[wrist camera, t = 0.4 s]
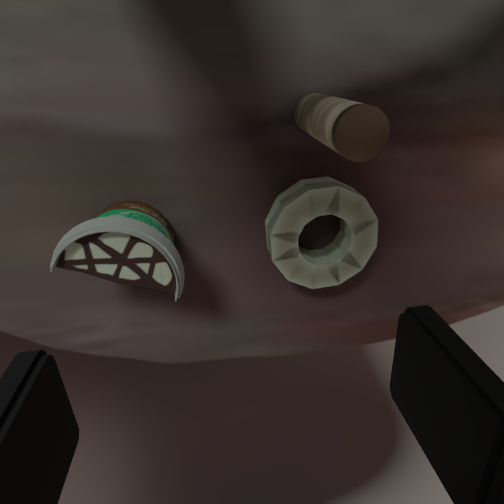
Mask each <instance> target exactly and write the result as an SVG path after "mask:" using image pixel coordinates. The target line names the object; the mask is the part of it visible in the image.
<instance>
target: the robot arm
mask: <svg viewBox="0 0 504 504" xmlns="http://www.w3.org/2000/svg"><path fill="white" fill-rule="evenodd" d="M390 392H391V395H392V398H393V400H394V402H395V403H396V405H397V407H398V408H399V410H400V412H401V414H402V415H403V417H404V419H405V421H406V422H407V424H408V426H409V427H410V429H411V431H412V433H413V434H414V436H415V437H416V439H417V441H418V443H419V444H420V446H421V448H422V450H423V451H424V453H425V455H426V457H427V458H428V460H429V462H430V464H431V465H432V467H433V469H434V470H435V472H436V474H437V475H438V477H439V479H440V481H441V482H442V484H443V486H444V488H445V489H446V491H447V492H448V494H449V496H450V498H451V500H452V501H453V503H454V504H504V382H503V381H502V380H501V379H500V378H499V377H498V376H497V375H496V374H495V373H494V372H493V371H492V370H491V369H490V368H489V367H488V366H487V365H486V364H485V362H483V360H482V359H481V358H480V357H479V356H478V355H477V354H476V353H475V352H474V351H473V350H472V349H471V348H470V347H469V346H468V345H467V344H466V343H465V342H464V341H463V340H462V339H461V338H460V337H459V336H458V335H457V334H456V333H455V331H454V330H453V329H451V327H450V326H449V325H448V324H447V323H446V322H445V321H444V320H443V319H442V318H441V317H440V316H439V315H438V314H437V313H436V312H435V311H434V310H433V309H432V308H431V307H430V306H427V305H425V306H416V307H408V308H406V309H405V312H404V313H402V314H400V316H399V320H398V328H397V335H396V343H395V350H394V359H393V365H392V373H391V381H390ZM78 440H79V428H78V424H77V421H76V419H75V416H74V413H73V410H72V407H71V404H70V401H69V399H68V396H67V393H66V390H65V387H64V385H63V382H62V379H61V376H60V373H59V370H58V367H57V365H56V362H55V359H54V357H53V356H52V355H47V353H46V352H45V351H44V350H37V351H28V352H20V353H18V354H17V355H16V356H15V357H14V359H13V360H12V362H11V363H10V365H9V366H8V368H7V369H6V371H5V373H4V374H3V376H2V377H1V379H0V504H58V501H59V498H60V495H61V491H62V489H63V486H64V483H65V480H66V477H67V473H68V471H69V468H70V465H71V461H72V458H73V456H74V452H75V449H76V446H77V443H78Z"/></svg>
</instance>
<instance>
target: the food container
mask: <svg viewBox="0 0 504 504" xmlns="http://www.w3.org/2000/svg"><path fill="white" fill-rule="evenodd" d="M56 267H60V268H63V269H69V270H74V271H78V272H82V273H86V274H90V275H93V276H96V277H99V278H102V279H105V280H109V281H112V282H115V283H120V284H125V285H132V286H138V287H144V288H149V289H153V290H157V291H161V292H165V293H170V294H174V295H175V301H176V300H177V298H180V296H181V294H182V292H183V287H184V279H185V274H184V266H183V263H182V260H181V257H180V255H179V253H178V251H177V249H176V248H175V244H174V234H173V230H172V228H171V226H170V224H169V222H168V220H167V219H166V218H165V217H164V216H163V215H162V214H161V213H160V212H159V211H158V210H157V209H155V208H153V207H152V206H150V205H147V204H145V203H141V202H137V201H123V202H118V203H115V204H113V205H110V206H108V207H107V208H105V209H104V210H103V211H102V212H101V213H99V214H98V215H97V216H96V217H95V218H94V219H91V220H88V221H86V222H83V223H81V224H79V225H77V226H76V227H74V228H72V229H71V230H70V231H69V232H68V233H67V234H65V235H64V236H63V238H62V239H61V240H60V242H59V243H58V245H57V247H56V249H55V251H54V253H53V257H52V260H51V264H50V268H51V271H50V272H52V271H53V270H54V269H55V268H56Z"/></svg>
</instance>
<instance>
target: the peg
mask: <svg viewBox="0 0 504 504" xmlns="http://www.w3.org/2000/svg"><path fill="white" fill-rule="evenodd" d="M294 120H295V123H296V124H297V126H298V127H299V128H300V129H301V130H303V131H304V132H306V133H307V134H309V135H311V136H312V137H314V138H315V139H317V140H318V141H320V142H321V143H323V144H325V145H326V146H328V147H329V148H331V149H332V150H334V151H335V152H337V153H338V154H340V155H342V156H343V157H345V158H346V159H348V160H350V161H353V162H365V161H368V160H370V159H372V158H374V157H376V156H377V155H378V154H379V153H380V152H381V151H382V150H383V148H384V147H385V145H386V143H387V141H388V138H389V132H390V126H389V121H388V119H387V116H386V115H385V113H384V112H383V111H382V110H381V109H379V108H377V107H375V106H372V105H368V104H364V103H359V102H355V101H351V100H347V99H343V98H339V97H335V96H330V95H326V94H322V93H318V92H309V93H307V94H305V95H303V96H302V97H301V98H300V99H299V100H298V101H297V103H296V105H295V108H294Z"/></svg>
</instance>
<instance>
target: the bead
mask: <svg viewBox="0 0 504 504" xmlns="http://www.w3.org/2000/svg"><path fill="white" fill-rule="evenodd" d="M331 214H332V215H335V216H337V217H340V230H339V232H338V234H337V235H336V237H335V239H334V241H333V242H331V243H330V244H328V245H327V246H325V247H324V248H322V249H316V250H307V249H304V248H302V247H299V246H298V237H299V235H300V233H301V231H302V229H303V227H304V226H305V225H306V224H307V223H308V222H310V221H311V220H313V219H314V218H316V217H317V216H323V215H331ZM265 231H266V242H267V248H268V251H269V253H270V256H271V259H272V261H273V263H274V264H275V265H276V266H277V268H278V269H279V270H280V271H281V273H282V274H283V275H284V276H285V278H286V279H287V280H288V281H290V282H293V283H296V284H299V285H302V286H305V287H308V288H311V289H316V288H322V287H329V286H336V285H340V284H341V283H343V282H344V281H346V280H347V279H349V278H350V277H352V276H354V275H355V274H357V273H358V272H360V271H361V270H363V268H364V266H365V265H366V263H367V261H368V260H369V258H370V257H371V255H372V253H373V252H374V250H375V249H376V247H377V236H378V218H377V217H376V215H375V213H374V212H373V210H372V208H371V207H370V205H369V203H368V202H367V200H366V198H365V197H364V196H362V195H361V194H360V193H359V192H358V191H356V190H355V189H354V188H353V187H351V186H349V185H347V184H344V183H342V182H340V181H338V180H335V179H333V178H331V177H329V176H326V177H318V178H310V179H303V180H299V181H298V182H296V183H295V184H294V185H292V186H291V187H289V188H288V189H287V190H285V191H284V192H283V193H281V194H280V195H278V196H277V197H276V199H275V201H274V203H273V205H272V207H271V209H270V211H269V213H268V215H267V218H266V220H265Z"/></svg>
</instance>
